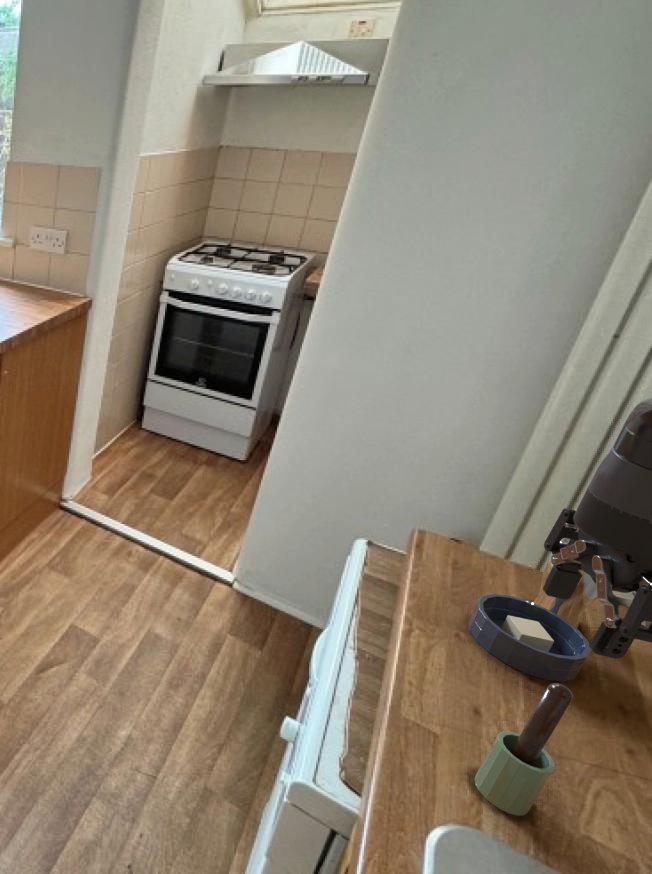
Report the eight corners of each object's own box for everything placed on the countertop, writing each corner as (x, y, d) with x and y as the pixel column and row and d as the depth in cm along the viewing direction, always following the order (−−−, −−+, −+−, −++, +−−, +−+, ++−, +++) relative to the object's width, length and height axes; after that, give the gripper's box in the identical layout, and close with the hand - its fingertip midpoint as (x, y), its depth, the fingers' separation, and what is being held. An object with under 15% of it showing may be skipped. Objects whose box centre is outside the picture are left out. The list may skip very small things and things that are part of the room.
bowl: (543, 630, 100) (557, 605, 98) (596, 696, 89) (613, 669, 87) (451, 610, 104) (463, 585, 102) (491, 671, 93) (505, 645, 90)
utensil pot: (512, 783, 77) (539, 738, 74) (536, 824, 73) (565, 778, 70) (465, 770, 79) (489, 725, 76) (485, 809, 74) (511, 764, 71)
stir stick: (506, 788, 76) (569, 682, 69) (515, 804, 74) (580, 697, 67) (487, 782, 77) (547, 677, 70) (495, 798, 75) (558, 691, 68)
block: (528, 640, 97) (538, 621, 96) (544, 660, 94) (554, 641, 92) (498, 633, 98) (507, 615, 97) (512, 652, 95) (521, 634, 93)
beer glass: (525, 597, 106) (560, 529, 101) (582, 621, 102) (621, 551, 96) (520, 617, 102) (555, 547, 97) (578, 644, 97) (620, 572, 92)
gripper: (761, 556, 52) (673, 689, 58) (644, 470, 65) (581, 587, 71) (645, 535, 55) (572, 664, 61) (554, 456, 67) (501, 570, 73)
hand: (577, 622), depth 66 cm, fingers open, 8 cm apart
